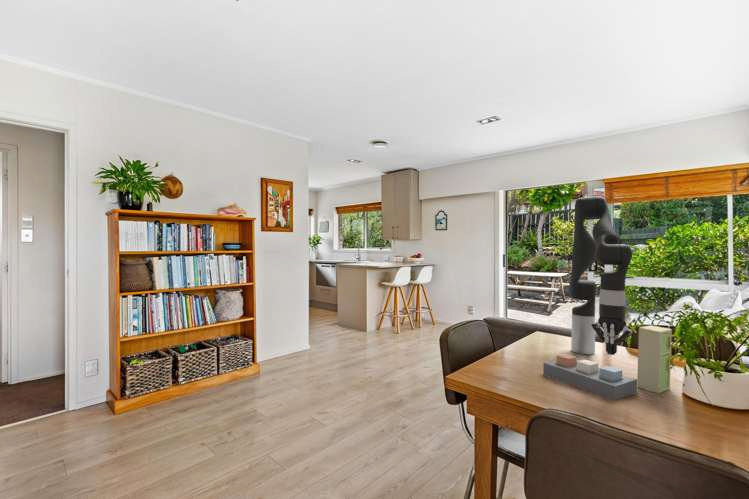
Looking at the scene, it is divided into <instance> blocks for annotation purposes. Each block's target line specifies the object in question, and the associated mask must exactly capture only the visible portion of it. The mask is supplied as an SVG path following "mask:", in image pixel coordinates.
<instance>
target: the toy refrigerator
mask: <svg viewBox="0 0 749 499" xmlns="http://www.w3.org/2000/svg"><path fill="white" fill-rule="evenodd" d="M672 332H673V330H672V328H668V327H661V326H657V325H644V326H640V327H638V341H637V342H638V347H637V348H638V349H637V378H636V379H637V388H639V389H643V390H646V391H649V392H652V393H655V394H661V393H663V392H666V391H669V390H670V389H671V365H672V362H671V363H670V359H669V357H670V356H671V357H672V339H673V338H672V336H673V335H672V334H673V333H672ZM666 344H667V345H666ZM668 345H671V346H668Z"/></svg>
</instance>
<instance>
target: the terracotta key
mask: <svg viewBox="0 0 749 499" xmlns="http://www.w3.org/2000/svg"><path fill="white" fill-rule="evenodd" d="M577 358H578V357H577V356H575V355H572V354H569V353H568V354H567V353H561V354H557V355H556V360H557V364H560V365H563V366H566V367H572V366H576V365H577V361H578V360H577Z"/></svg>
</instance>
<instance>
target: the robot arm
mask: <svg viewBox="0 0 749 499" xmlns="http://www.w3.org/2000/svg"><path fill="white" fill-rule="evenodd" d="M575 200H576V201H575V204H574V233H573V234H574V235H573V244H572V254H571V272H570V278H569V285H568V294H569V298H570V299H572V300H578V301H585V303H583V304H580V305H578V306H574V307H572V309H571V344H570V347H571V352H573V353H576V354H579V355H580V354H581V355H593V354H595V352H596V335H597V336H598V338H599V340H601V341H603V342H605V351H606V354H608V355H611V356H613V355H616V354H617V352H618V345H619V344H623V343H624V342H625V341H626V340H628V339H629V337H630V336H632V334H634V330H633V329H630V328H629V327H628V326H627V323H626V308H627V307H626V306H627V305H626V302H627V301H626V298H627V296H626V277H627V275H628V274H627V273H628V270H629V267H630V265H631V261H632V259H633V250H632V248H631V246H629V245H628V244H626V243H625V244H623V243H621V244H619V243H620V240H619V236H618V235H617V233H616V231H615V228H614V226H613V223H612V222H613V221H612V218H611V214H610V209H609V204H608V202H607V200H606V199H605V197H603V196H585V197H578V198H577V199H575ZM590 220H591V221H593V220H597V222H596V223H595V224H594V225H593V227H592V231H591V234H592V235H591V234H590V232H589V231H588V230H587V228H586V225H585V221H590ZM595 262H597V263H599V264H601V265H603V266H604V265H606V266H616V268H615V269H614V270H611V271H605V272H602V273H601V275H600V288H599V297H598V315H599V317H598V319H597V322H595V321H596V296H597V284H596V282H595V281H594V280H593V279H592V280H587V279H581V277H582V276H583V274H584V273H585V272H586V271H587V270H588V269H590V268H591V266H593V265H594V263H595ZM620 333H622V334H621V335H620Z"/></svg>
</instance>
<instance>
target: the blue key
mask: <svg viewBox="0 0 749 499" xmlns="http://www.w3.org/2000/svg"><path fill="white" fill-rule="evenodd" d="M599 368H600V372H599V377H601V378H604V379H607V380H610V381H613V382H616V381H620V380H622V375H623V369H620V368H616V367H613V366H609V365H606V366H602V367H601V366H600V367H599Z"/></svg>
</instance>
